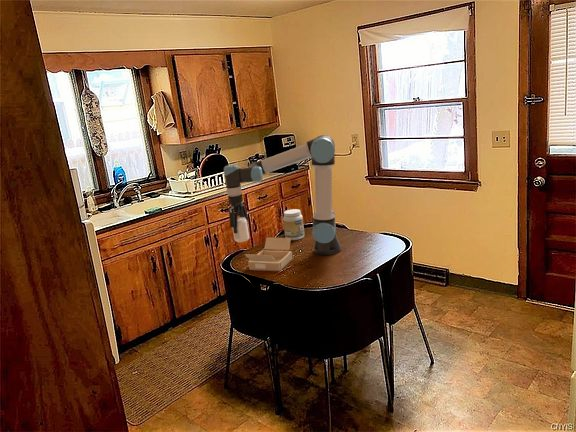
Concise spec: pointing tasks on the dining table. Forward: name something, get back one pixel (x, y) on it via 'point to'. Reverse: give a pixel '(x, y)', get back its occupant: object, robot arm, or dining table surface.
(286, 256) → the carton
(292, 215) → the supplement tub
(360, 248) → the dining table surface
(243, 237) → the beverage can
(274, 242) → the back flap
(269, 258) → the front flap
